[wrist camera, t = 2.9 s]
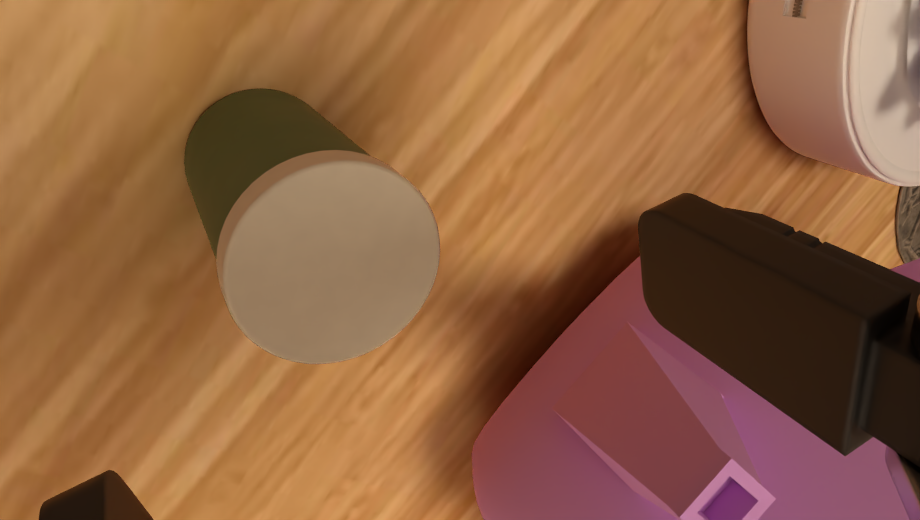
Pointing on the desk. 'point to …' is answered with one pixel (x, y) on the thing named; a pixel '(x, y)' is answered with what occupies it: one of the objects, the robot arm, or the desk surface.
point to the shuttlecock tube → (308, 229)
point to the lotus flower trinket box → (841, 81)
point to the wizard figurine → (908, 223)
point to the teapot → (661, 435)
